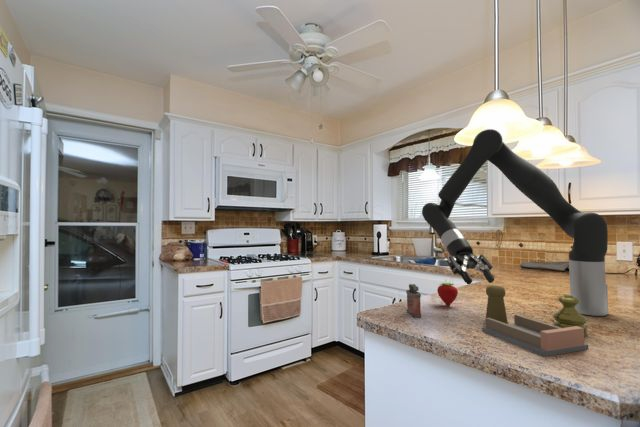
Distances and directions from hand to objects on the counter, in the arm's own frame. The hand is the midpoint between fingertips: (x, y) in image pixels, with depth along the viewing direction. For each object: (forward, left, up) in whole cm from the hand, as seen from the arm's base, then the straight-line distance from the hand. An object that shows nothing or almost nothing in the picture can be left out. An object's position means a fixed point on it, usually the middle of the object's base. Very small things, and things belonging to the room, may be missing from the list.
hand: (481, 282), depth 102 cm
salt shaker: (-12, +19, -11) cm, 25 cm away
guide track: (+3, +20, -11) cm, 23 cm away
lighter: (+19, -9, -11) cm, 24 cm away
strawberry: (+1, -15, -11) cm, 19 cm away
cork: (0, +6, -11) cm, 13 cm away
